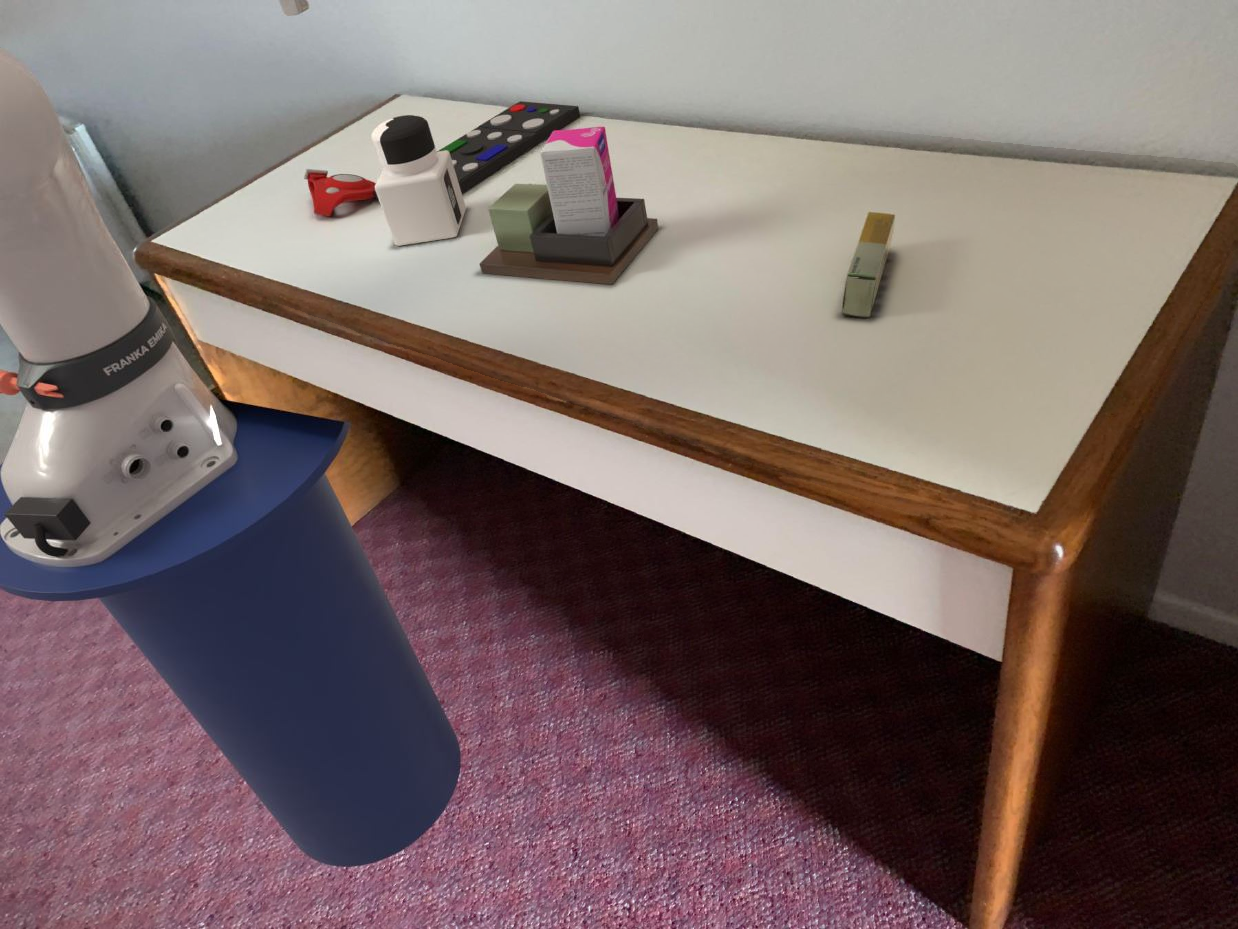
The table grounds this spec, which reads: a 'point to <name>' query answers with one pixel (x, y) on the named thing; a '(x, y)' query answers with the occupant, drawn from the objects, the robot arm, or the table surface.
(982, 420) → the table surface
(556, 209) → the supplement box
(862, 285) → the medication box
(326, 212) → the red plastic curved piece
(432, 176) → the container
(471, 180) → the remote control
